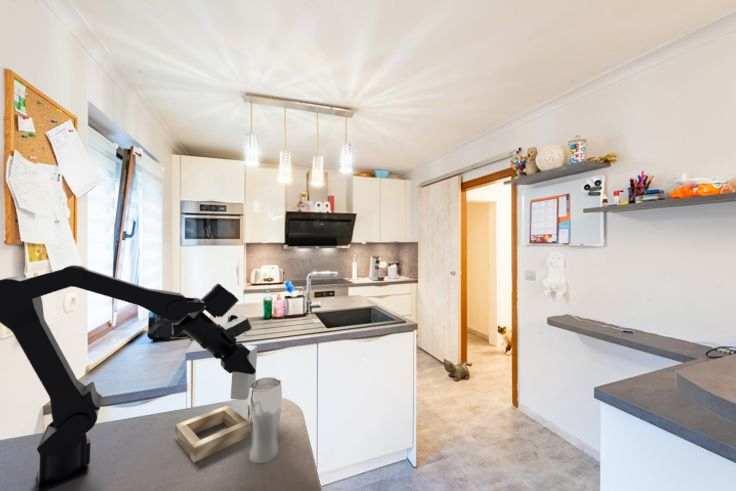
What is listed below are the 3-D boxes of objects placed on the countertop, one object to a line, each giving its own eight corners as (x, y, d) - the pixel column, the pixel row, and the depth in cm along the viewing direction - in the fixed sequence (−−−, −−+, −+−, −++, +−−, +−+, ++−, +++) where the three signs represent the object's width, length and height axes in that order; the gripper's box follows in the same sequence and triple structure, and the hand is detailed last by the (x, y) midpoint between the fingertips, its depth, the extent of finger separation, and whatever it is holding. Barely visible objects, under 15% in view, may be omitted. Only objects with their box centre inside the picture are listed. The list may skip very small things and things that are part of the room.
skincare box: (239, 389, 81) (241, 344, 82) (256, 389, 81) (258, 345, 82) (229, 400, 75) (231, 351, 76) (247, 400, 75) (249, 352, 76)
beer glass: (270, 467, 60) (272, 392, 60) (239, 462, 61) (241, 388, 62) (286, 445, 67) (288, 378, 67) (258, 441, 68) (260, 375, 68)
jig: (194, 462, 61) (194, 447, 61) (174, 437, 69) (175, 424, 69) (249, 435, 70) (250, 423, 70) (227, 416, 78) (227, 405, 78)
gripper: (242, 313, 69) (285, 352, 76) (222, 301, 84) (260, 335, 90) (203, 353, 64) (252, 391, 71) (189, 333, 79) (231, 367, 85)
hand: (249, 368), depth 79 cm, fingers closed on skincare box, 7 cm apart
